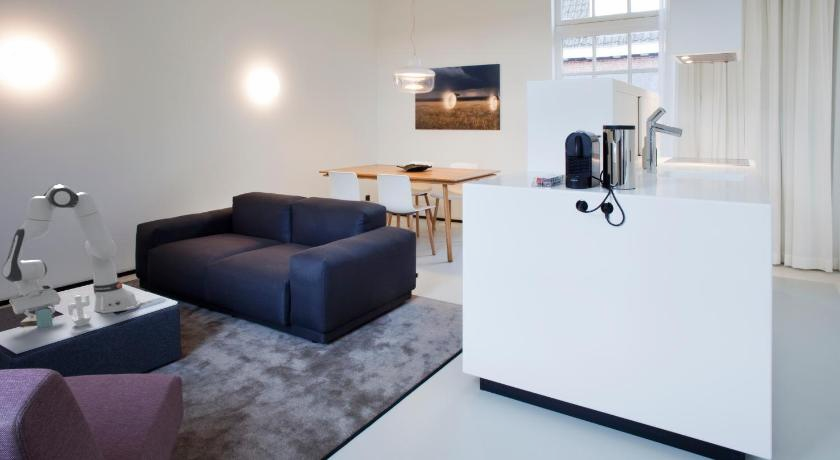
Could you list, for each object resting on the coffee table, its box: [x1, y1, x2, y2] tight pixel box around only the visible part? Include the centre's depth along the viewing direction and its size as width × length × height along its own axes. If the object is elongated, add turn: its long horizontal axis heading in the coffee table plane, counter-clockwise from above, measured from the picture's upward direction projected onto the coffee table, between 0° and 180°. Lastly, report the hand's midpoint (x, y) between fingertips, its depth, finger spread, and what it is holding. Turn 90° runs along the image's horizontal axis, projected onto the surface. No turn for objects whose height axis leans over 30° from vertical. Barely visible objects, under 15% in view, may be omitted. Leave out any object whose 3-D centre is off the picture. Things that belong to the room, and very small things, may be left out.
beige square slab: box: [20, 313, 55, 327], centre depth 287 cm, size 11×11×2 cm
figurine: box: [67, 294, 92, 328], centre depth 279 cm, size 7×9×15 cm
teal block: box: [34, 307, 54, 329], centre depth 280 cm, size 5×5×8 cm
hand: (42, 314), depth 280 cm, fingers open, 8 cm apart
